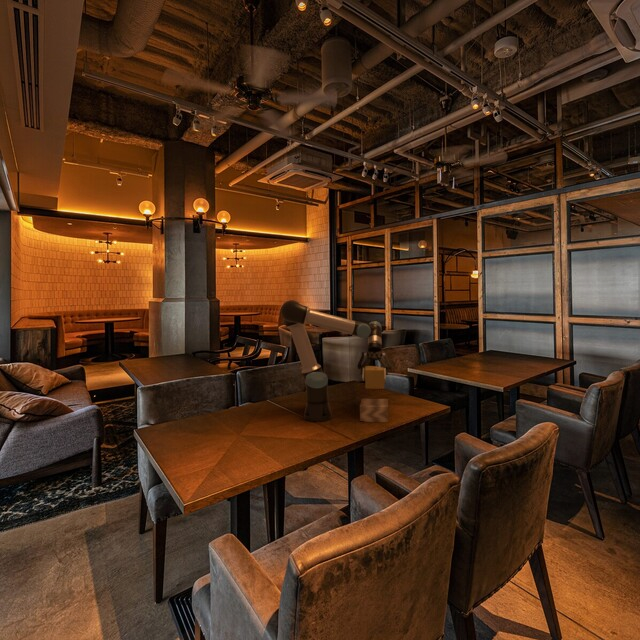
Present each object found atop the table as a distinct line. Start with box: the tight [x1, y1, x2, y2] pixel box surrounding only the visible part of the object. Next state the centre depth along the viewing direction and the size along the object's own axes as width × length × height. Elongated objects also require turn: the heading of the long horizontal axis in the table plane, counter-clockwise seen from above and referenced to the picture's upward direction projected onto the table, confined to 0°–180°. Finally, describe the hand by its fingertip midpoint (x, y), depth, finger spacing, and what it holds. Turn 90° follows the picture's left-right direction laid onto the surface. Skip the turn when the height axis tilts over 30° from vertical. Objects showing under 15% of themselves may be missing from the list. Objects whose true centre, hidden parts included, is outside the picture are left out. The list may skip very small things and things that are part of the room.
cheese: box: [364, 365, 385, 390], centre depth 196 cm, size 10×11×10 cm
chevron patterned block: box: [359, 398, 389, 423], centre depth 197 cm, size 14×14×8 cm
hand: (374, 379), depth 194 cm, fingers closed on cheese, 10 cm apart
